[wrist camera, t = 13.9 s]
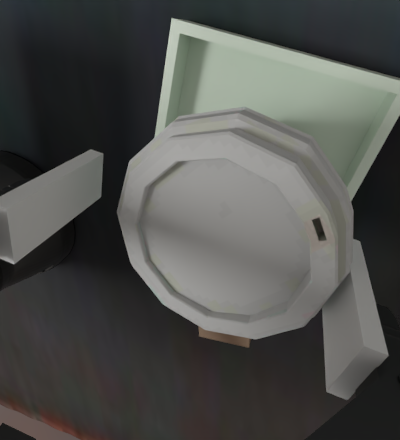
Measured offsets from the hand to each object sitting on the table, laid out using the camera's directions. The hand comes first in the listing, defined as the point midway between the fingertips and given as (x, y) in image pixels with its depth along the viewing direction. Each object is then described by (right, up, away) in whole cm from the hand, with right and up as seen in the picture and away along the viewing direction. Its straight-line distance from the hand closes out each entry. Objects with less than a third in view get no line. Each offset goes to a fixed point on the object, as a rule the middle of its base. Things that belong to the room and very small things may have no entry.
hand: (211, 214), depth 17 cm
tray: (+4, +5, +9) cm, 11 cm away
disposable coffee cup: (+5, +5, +9) cm, 11 cm away
